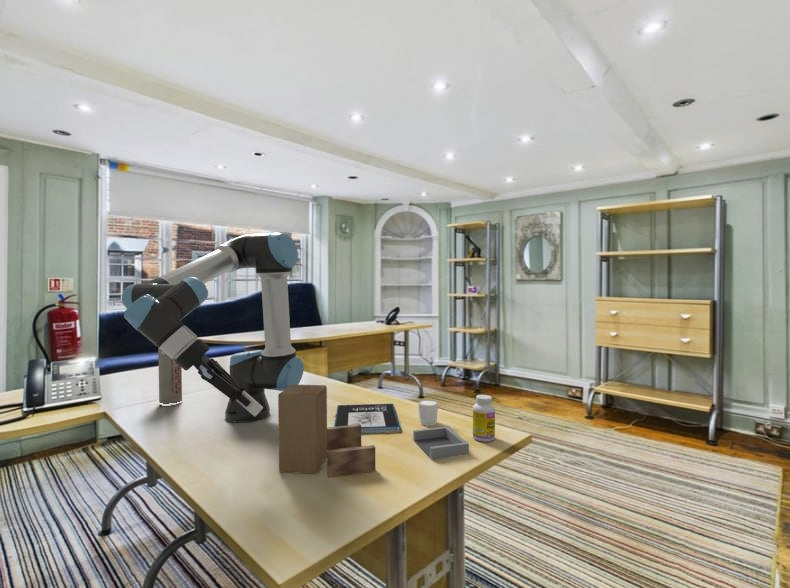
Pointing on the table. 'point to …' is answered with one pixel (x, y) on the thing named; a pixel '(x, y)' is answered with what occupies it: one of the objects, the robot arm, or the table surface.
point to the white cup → (428, 412)
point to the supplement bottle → (483, 419)
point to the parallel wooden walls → (348, 452)
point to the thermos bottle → (169, 379)
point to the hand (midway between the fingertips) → (258, 411)
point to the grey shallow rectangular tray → (440, 442)
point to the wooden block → (302, 428)
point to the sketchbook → (369, 417)
